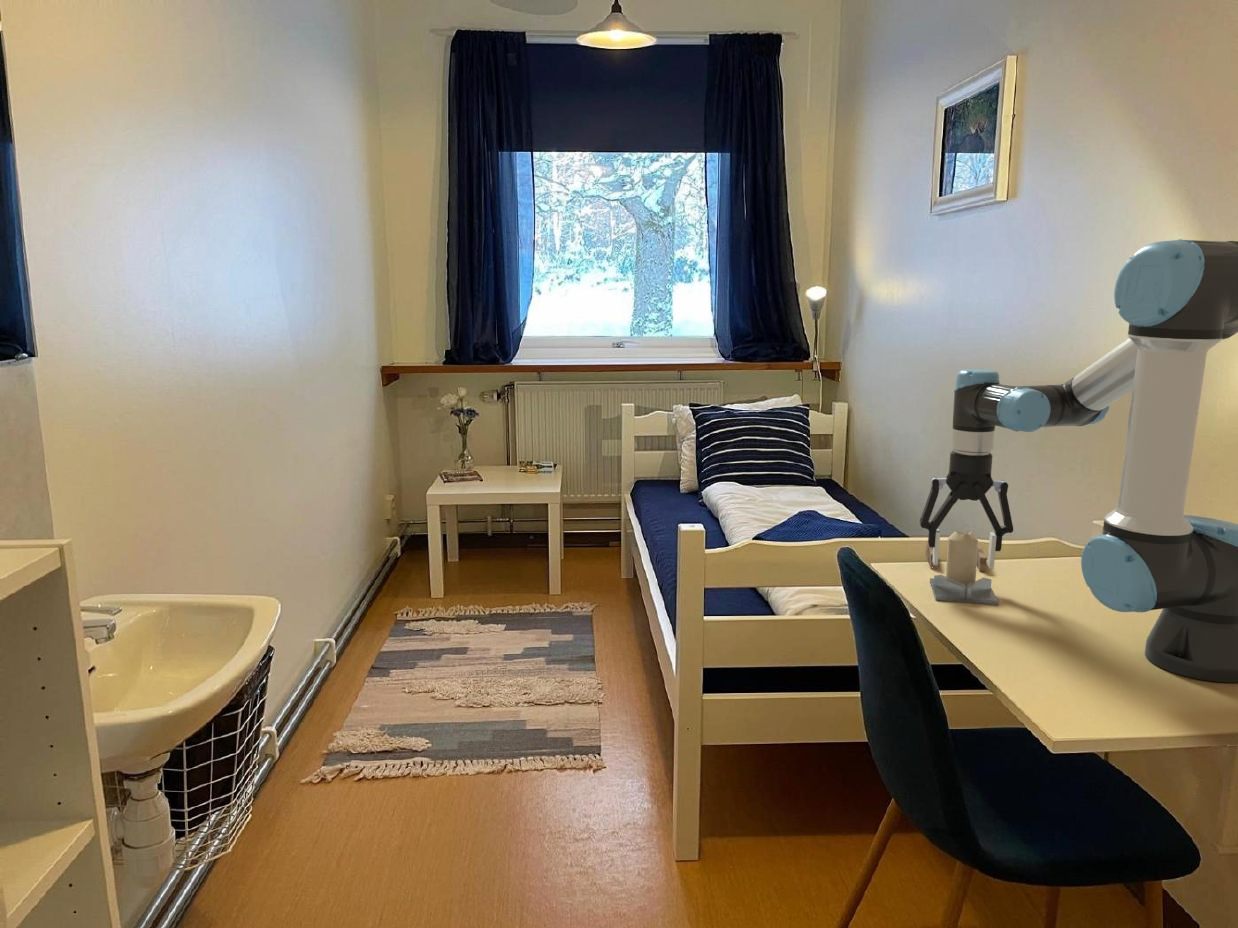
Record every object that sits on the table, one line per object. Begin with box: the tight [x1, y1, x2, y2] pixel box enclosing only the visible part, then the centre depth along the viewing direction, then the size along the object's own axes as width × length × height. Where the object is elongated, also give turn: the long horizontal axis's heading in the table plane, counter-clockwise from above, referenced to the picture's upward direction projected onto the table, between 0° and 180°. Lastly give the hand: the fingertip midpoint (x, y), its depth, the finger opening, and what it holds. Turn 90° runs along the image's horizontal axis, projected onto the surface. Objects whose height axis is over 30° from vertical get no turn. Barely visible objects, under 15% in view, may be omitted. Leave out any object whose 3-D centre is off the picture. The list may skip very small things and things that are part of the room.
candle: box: [945, 530, 979, 585], centre depth 184 cm, size 6×6×10 cm
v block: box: [929, 574, 999, 606], centre depth 181 cm, size 11×11×3 cm
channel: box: [925, 541, 988, 573], centre depth 200 cm, size 10×11×3 cm
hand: (962, 564), depth 182 cm, fingers open, 9 cm apart
